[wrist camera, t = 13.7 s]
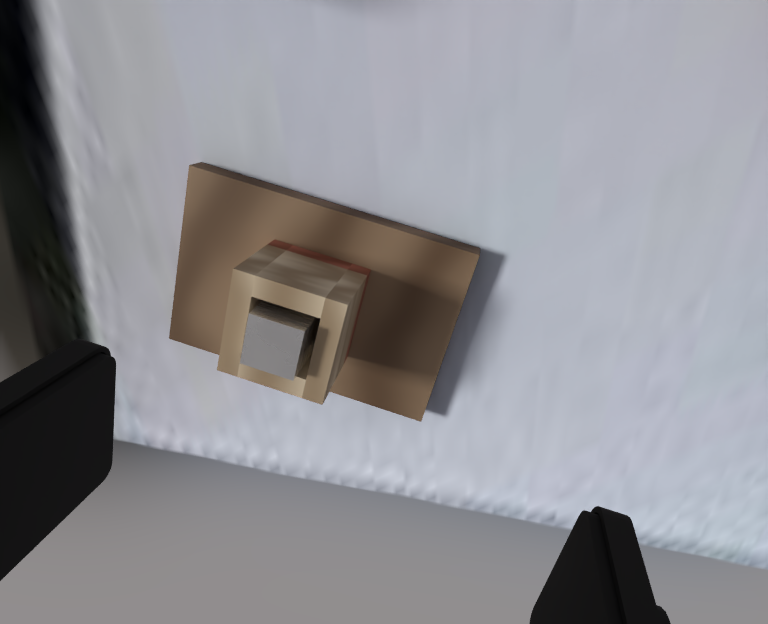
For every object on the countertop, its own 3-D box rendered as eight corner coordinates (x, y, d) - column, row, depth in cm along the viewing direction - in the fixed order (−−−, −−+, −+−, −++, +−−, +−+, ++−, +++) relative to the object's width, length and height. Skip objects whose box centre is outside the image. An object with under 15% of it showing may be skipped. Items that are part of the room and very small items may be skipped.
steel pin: (339, 286, 34) (304, 331, 28) (328, 328, 36) (293, 381, 29) (293, 271, 35) (248, 313, 28) (284, 314, 36) (239, 363, 29)
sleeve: (371, 269, 34) (347, 304, 28) (347, 356, 36) (322, 404, 31) (274, 239, 34) (233, 268, 29) (258, 327, 37) (217, 370, 31)
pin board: (480, 248, 34) (479, 255, 32) (423, 409, 38) (421, 421, 37) (201, 162, 35) (189, 165, 33) (180, 329, 39) (169, 338, 38)
